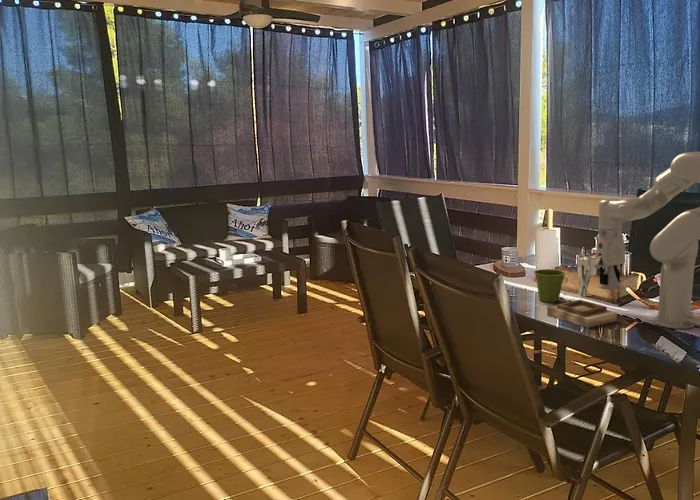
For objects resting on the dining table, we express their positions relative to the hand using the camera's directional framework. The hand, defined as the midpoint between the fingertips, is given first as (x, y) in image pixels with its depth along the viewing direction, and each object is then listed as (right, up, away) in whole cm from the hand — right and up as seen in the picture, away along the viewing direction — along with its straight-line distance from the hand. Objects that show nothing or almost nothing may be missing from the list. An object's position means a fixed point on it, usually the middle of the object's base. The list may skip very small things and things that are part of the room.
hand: (609, 282), depth 221 cm
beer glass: (0, -6, +23) cm, 24 cm away
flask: (0, -2, 0) cm, 2 cm away
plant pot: (-17, -8, +17) cm, 25 cm away
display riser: (-13, -12, -7) cm, 19 cm away
